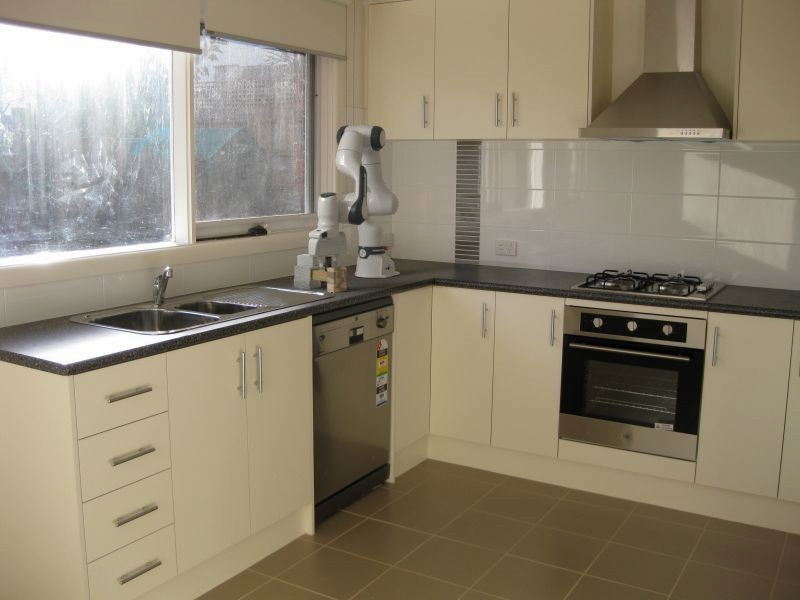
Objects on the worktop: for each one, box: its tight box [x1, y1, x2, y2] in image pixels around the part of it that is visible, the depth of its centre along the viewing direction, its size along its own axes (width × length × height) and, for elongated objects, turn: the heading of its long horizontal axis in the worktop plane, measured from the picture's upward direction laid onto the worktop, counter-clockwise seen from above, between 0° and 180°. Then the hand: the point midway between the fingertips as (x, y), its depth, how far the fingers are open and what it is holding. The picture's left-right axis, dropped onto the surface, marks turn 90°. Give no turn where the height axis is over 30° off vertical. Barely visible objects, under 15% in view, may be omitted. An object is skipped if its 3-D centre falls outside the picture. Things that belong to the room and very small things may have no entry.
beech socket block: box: [326, 265, 348, 294], centre depth 358 cm, size 8×4×10 cm, turn 142°
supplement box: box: [296, 253, 319, 266], centre depth 380 cm, size 7×7×13 cm
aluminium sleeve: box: [293, 265, 322, 290], centre depth 368 cm, size 7×9×9 cm
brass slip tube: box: [311, 255, 333, 282], centre depth 361 cm, size 4×16×10 cm, turn 52°
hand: (328, 266), depth 359 cm, fingers open, 6 cm apart
